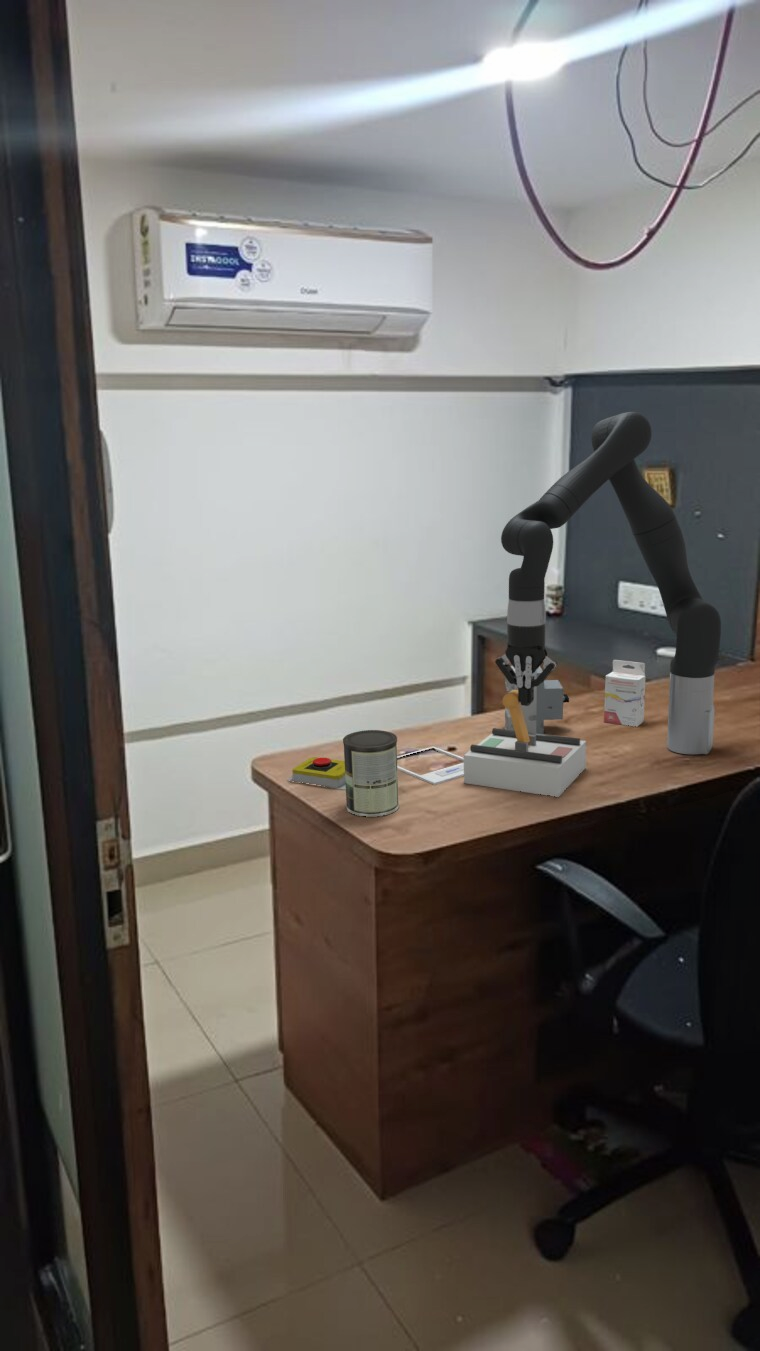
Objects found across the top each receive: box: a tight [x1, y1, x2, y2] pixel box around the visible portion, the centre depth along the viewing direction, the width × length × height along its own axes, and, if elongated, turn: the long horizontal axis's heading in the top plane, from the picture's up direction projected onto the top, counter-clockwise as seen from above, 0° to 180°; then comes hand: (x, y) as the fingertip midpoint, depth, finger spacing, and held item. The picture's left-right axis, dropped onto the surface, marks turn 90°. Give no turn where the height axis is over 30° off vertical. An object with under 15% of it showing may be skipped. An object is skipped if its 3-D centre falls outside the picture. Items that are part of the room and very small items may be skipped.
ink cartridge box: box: [603, 659, 647, 728], centre depth 238 cm, size 9×5×15 cm, turn 58°
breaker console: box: [463, 727, 587, 798], centre depth 206 cm, size 20×18×8 cm
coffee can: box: [342, 729, 400, 818], centre depth 191 cm, size 10×10×14 cm
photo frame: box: [397, 746, 464, 786], centre depth 214 cm, size 15×1×18 cm
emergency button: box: [286, 756, 346, 791], centre depth 209 cm, size 9×4×15 cm
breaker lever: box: [501, 690, 530, 742], centre depth 204 cm, size 3×4×11 cm
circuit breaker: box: [504, 665, 570, 734], centre depth 234 cm, size 8×14×15 cm, turn 89°
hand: (525, 704), depth 203 cm, fingers closed
